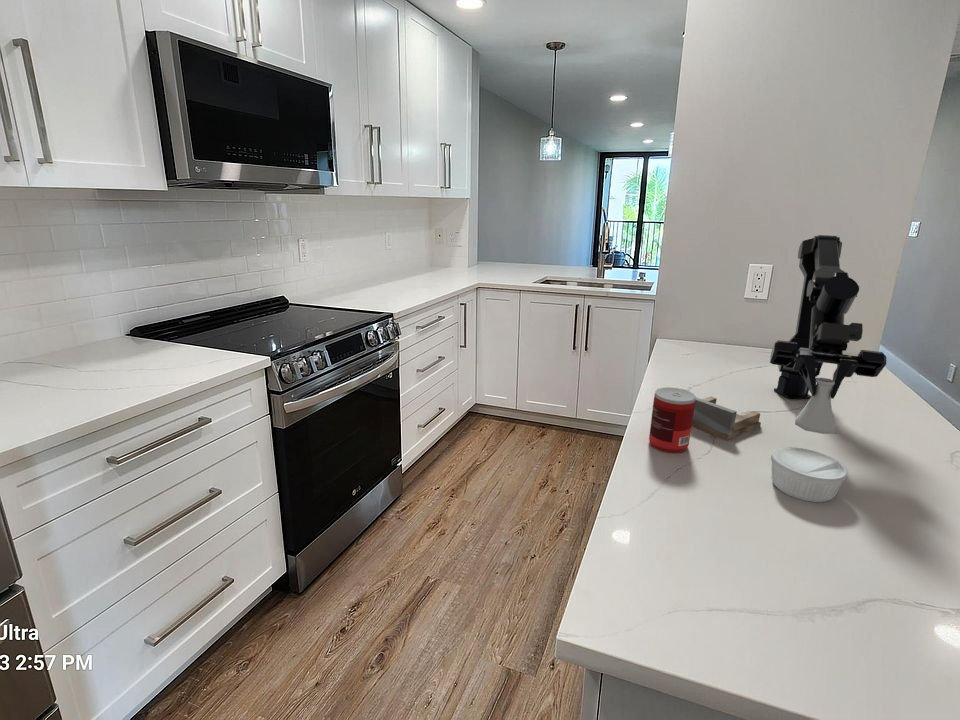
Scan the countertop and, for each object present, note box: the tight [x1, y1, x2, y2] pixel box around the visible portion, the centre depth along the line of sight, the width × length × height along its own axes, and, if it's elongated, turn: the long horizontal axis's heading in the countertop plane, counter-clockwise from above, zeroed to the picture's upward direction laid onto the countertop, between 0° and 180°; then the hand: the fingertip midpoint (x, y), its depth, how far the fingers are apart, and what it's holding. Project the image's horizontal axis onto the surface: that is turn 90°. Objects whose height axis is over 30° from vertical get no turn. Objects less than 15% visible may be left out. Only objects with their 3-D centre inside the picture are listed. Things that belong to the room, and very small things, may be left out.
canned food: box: [648, 387, 696, 454], centre depth 106 cm, size 8×8×11 cm
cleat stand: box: [691, 396, 762, 441], centre depth 118 cm, size 13×13×6 cm
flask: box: [794, 377, 837, 435], centre depth 104 cm, size 7×7×10 cm
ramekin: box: [770, 446, 848, 503], centre depth 92 cm, size 11×11×5 cm
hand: (823, 396), depth 103 cm, fingers closed on flask, 3 cm apart
